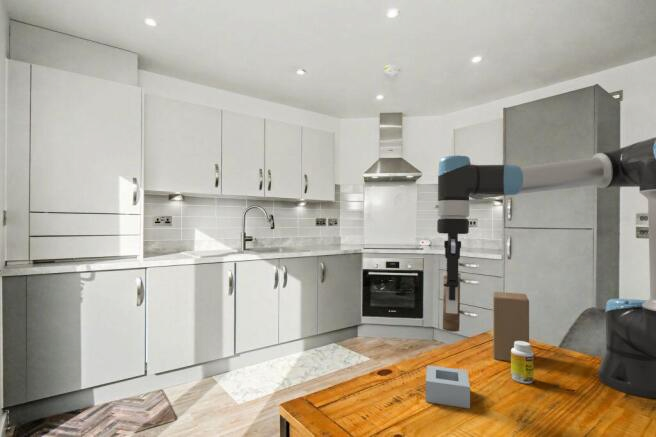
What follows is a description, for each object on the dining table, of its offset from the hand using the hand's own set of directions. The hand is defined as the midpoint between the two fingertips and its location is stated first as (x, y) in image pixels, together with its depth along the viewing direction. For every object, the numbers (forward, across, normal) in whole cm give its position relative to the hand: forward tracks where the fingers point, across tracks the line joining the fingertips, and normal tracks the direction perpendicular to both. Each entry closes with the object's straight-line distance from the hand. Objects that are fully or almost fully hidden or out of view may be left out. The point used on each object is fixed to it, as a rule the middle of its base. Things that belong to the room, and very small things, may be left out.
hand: (451, 310), depth 89 cm
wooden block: (+21, -34, +19) cm, 44 cm away
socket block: (+21, 0, -1) cm, 21 cm away
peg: (+5, 0, 0) cm, 5 cm away
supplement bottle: (+21, -16, +19) cm, 33 cm away
